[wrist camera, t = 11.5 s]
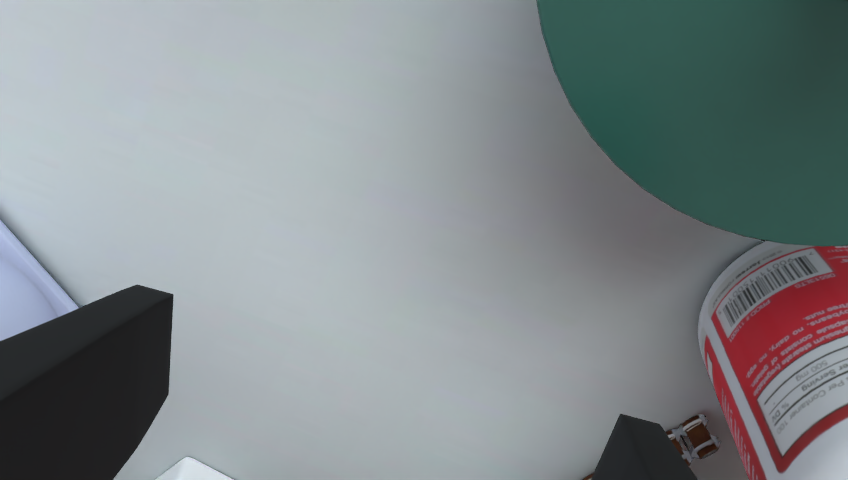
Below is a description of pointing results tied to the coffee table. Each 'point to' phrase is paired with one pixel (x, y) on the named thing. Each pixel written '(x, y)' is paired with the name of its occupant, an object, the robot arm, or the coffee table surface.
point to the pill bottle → (782, 359)
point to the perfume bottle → (191, 471)
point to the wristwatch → (692, 440)
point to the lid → (717, 105)
